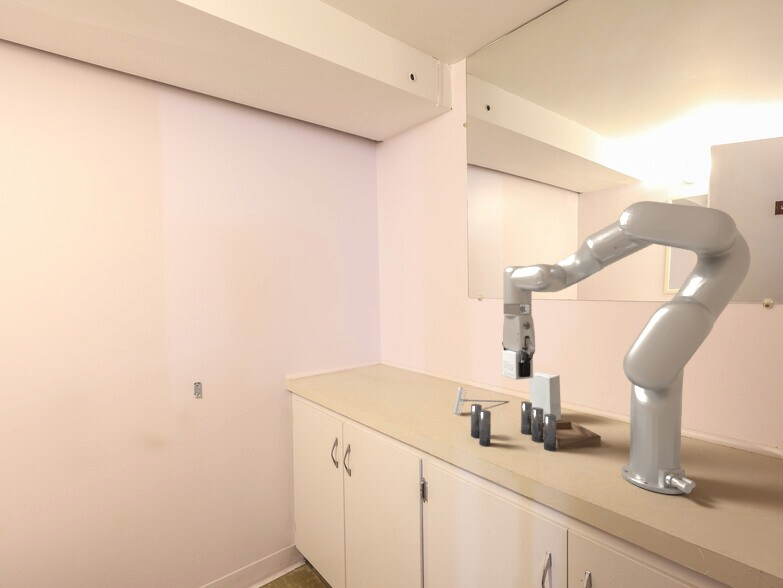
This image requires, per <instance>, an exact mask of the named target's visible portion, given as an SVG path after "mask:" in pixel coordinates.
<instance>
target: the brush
mask: <svg viewBox="0 0 783 588" xmlns="http://www.w3.org/2000/svg"><path fill="white" fill-rule="evenodd" d="M466 394H467V390H466V389H464V388H463V387H462V386H458V388H457V393H456V397H455V402H454V407H453V412H452V414H454V415H456V416H459V417H460V416H462V412H463V407H464V403H465V402H478V403H479V402H480V403H481V402H483V403H484V402H486V403H490V402H491V403H510V400H500V399H498V400H497V399H495V400H494V399H472V398H471V399H469V398H466Z"/></svg>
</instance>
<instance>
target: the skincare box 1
mask: <svg viewBox="0 0 783 588" xmlns="http://www.w3.org/2000/svg"><path fill="white" fill-rule="evenodd" d="M522 351H524V350H522ZM524 355H525V354H523V357H524ZM501 356H502V357H501V359H502V362H501V366H502V371H501V372H502V375H501V376H502V377H506V378H510V379H513V380H526V379H528V380H529V378H533V373H534V363H533V362H534V356H533V357H532V362H530V377H519V362H520V358H519V353H518V352H516V351H512V350H503V349H502V351H501Z"/></svg>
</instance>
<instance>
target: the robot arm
mask: <svg viewBox="0 0 783 588" xmlns="http://www.w3.org/2000/svg"><path fill="white" fill-rule="evenodd" d="M653 245H658V246H664V247H669V248H675V249H681V250H688V251H691V252H693V253H695V255H696V256H697V261H696V264H695V265H694V268H693V269H692V270H691V272H690V273H689V274H688V276H687V277H686V279H685V280H684V282H683V284H682V285H681V287H680V288H679V290H678V291H677V292H676V293H675V295H674V296H673V297H672V298H671V300H668V301H666V302H665V303H663V304H661V305H660V306H659V307H658V308H657V309H656V310H655V311H654V312H653V314H652V315H651V317H650V318H649V319H648V321H647V322H646V324H645V325H644V327H643V328H642V330H641V331H640V333H639V334H638V335H637V337H636V338H635V340H634V341H633V343H632V344H631V345H630V347H629V349H628V350H627V352H626V353H625V355H624V357H623V362H622V370H623V371H624V375H625V377H626V378H627V380H628V381H629V382H630V383H631V387H630V407H629V410H630V415H629V416H630V417H629V420H630V421H629V422H630V423H629V425H630V426H629V463H626V464H624V465H623V466H622V467H621V474H622V476H623V478H625V480H627V481H628V482H629V483H631V484H632V485H633V484H634V485H635V486H637V487H640V488H643V489H644V490H648V491H651V492H655V493H660V494H668V495H680V494H690V493H691V492H692V490H693V489H694V488H695V487H696V482H695V481H694V480H691V479H690V478H687V477H686V469H685V468H683V467H681V466H682V465H681V464H682V463H681V462H682V461H681V460H682V458H681V457H682V448H681V447H682V416H683V415H682V411H683V383H684V373H685V372H684V371H685V370H684V369H685V367H686V365H687V364H688V363H689V362H690V361H691V359H692V358H693V356H694V355H695V354H696V352H697V351H698V350H699V348H700V347H701V346H702V345H703V343H704V342H705V340H706V339H707V338H708V337H709V335H710V333H712V330H713V328H714V325H715V323H717V320H718V319H719V317H720V316H721V314H722V313H723V312H724V310H725V309H726V308H727V306H728V305H729V303H730V302H731V301H732V299H733V297H734V296H735V295H736V293H737V292H738V291H739V289H740V288H741V286H742V284H743V283H744V281H745V280H746V278H747V275H748V273H749V270H750V267H751V250H750V247H749V243H748V242H747V240H746V239H745V238H744V236H743V234H742V233H741V232H740V230H739V229H738V228H737V224H736V222H735V220H734V218H733V217H732V216H731V215H730V214H728V213H727V212H725V211H723V210H721V209H718V208H717V209H716V208H714V207H712V208H711V207H704V206H698V205H697V206H695V205H689V204H688V205H687V204H678V203H668V202H667V203H666V202H660V201H652V200H651V201H650V200H645V201H644V200H643V201H637V202H635V203H634V202H633V203H632V204H630V205H628V206H627V207H625V209H623V211H622V212H621V214H620V215H619V218H618V220H616V221H614V222H613V223H611V224H609V225H606V227H604V228H601V229H599V230H598V231H596V232H594V233H592V234H589V236H587V237H586V238H585V239H584V240H583V242H582V244H581V246H580V248H579V249H577V250H576V251H575V252H574V253H572V254H571V255H568V257H566V258H563V260H560V261H557V262H556V263H554V264H546V263H536V264H531V265H526V266H525V265H518V266H517V265H516V266H515V265H514V266H508V267H505V268H504V270H503V316H504V317H503V325H502V327H503V328H502V341H501V345H502V348H503V349H502V351H503V350H512V351H516V352H518V353H519V358H520V362H519V377H530V362H532V357H533V358H534V355H535V353H536V336H535V335H536V333H535V323H534V319H533V315H532V311H533V310H532V309H533V308H532V306H533V305H532V301H533V299H532V298H533V297H532V293H533V292H534V293H557V292H560V291H562V290H565V289H567V288H570V287H572V286H573V285H576V284H578V283H579V282H582V281H584V280H586V279H587V278H590V277H591V276H592V275H595V274H597V273H598V272H601V270H603V269H604V268H606V267H608V266H610V265H612V264H615V263H616V262H618V261H621V260H622V259H625V258H627V257H629V256H631V255H633V254H635V253H637V252H639V251H641V250H644V249H645V248H648V247H650V246H653ZM522 350H524V351H522ZM523 354H525V355H524V357H523Z"/></svg>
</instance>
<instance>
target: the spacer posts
mask: <svg viewBox="0 0 783 588" xmlns="http://www.w3.org/2000/svg"><path fill="white" fill-rule="evenodd" d="M482 407H483V406H482V405H481V404H479V403H472V404H471V405H470V437H471V438H474V439H479V441H478V444H479V445H480V446H482V447H490V446H491V429H492V426H491V425H492V424H491V422H492V420H491V417H492V416H491V415H492V412H491V411H490V410H485V409H483V408H482ZM520 407H521V408H520V410H521V411H520V418H521V419H520V433H522V434H523V435H531V441H532V442H535V443H543V449H544V450H546V451H549V452H555V451H556V450H557V447H556V422H557V421H556V415H553V414H544V421H543V409H542V408H539V407H533V408H532V403H531V402H530V401H527V400H526V401H524V400H523V401H521V406H520ZM543 423H544V438H543ZM489 445H490V446H489Z"/></svg>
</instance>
